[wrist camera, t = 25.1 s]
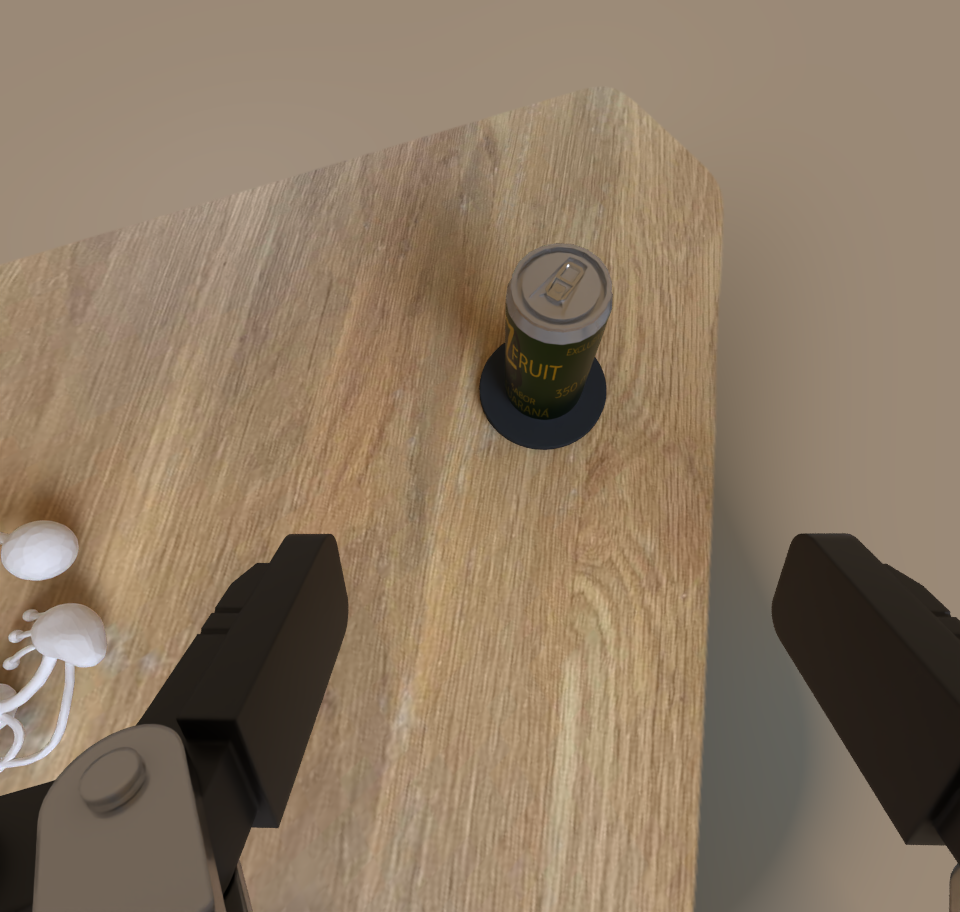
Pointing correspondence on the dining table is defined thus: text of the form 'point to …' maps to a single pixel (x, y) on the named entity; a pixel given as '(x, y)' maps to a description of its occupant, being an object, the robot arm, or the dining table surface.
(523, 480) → the dining table surface
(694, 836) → the dining table surface
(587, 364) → the beer can
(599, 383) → the coaster
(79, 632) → the tangled rod sculpture
